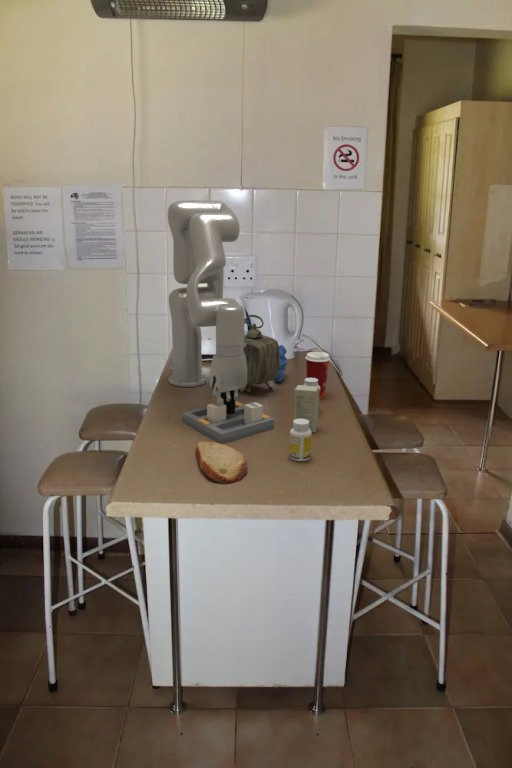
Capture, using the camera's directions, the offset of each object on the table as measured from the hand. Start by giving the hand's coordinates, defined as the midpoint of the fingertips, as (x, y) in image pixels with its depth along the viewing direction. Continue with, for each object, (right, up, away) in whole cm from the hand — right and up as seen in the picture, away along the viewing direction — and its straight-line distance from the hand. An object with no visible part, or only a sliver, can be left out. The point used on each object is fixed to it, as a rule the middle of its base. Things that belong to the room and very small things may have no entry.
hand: (229, 412), depth 186 cm
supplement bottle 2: (+24, -1, +12) cm, 26 cm away
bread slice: (-2, -12, -23) cm, 26 cm away
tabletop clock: (+6, +6, +29) cm, 30 cm away
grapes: (+15, +9, +41) cm, 44 cm away
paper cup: (+26, +4, +25) cm, 37 cm away
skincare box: (+21, -5, -1) cm, 22 cm away
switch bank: (-1, -4, +1) cm, 4 cm away
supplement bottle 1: (+19, -11, -18) cm, 28 cm away
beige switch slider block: (-1, 0, +7) cm, 7 cm away
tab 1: (-3, -3, -2) cm, 5 cm away
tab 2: (+7, -3, -1) cm, 8 cm away
